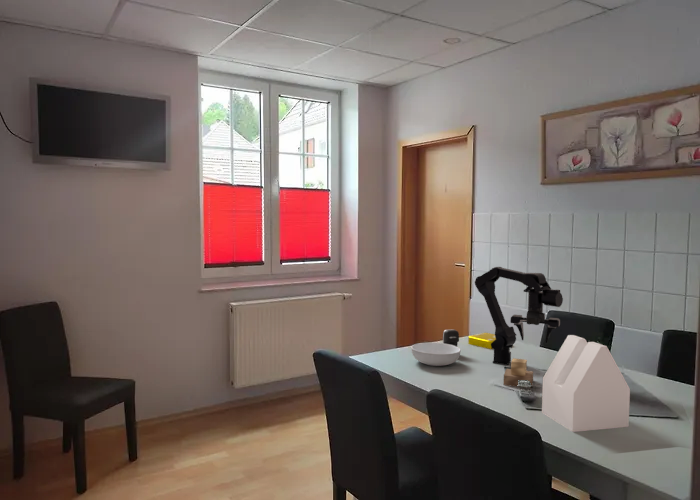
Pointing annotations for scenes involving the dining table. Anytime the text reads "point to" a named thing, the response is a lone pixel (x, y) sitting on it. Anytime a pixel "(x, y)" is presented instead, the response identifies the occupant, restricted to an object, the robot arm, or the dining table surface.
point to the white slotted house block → (585, 388)
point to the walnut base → (516, 378)
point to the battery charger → (451, 337)
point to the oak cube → (518, 367)
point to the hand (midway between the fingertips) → (534, 341)
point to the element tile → (482, 340)
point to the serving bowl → (435, 353)
